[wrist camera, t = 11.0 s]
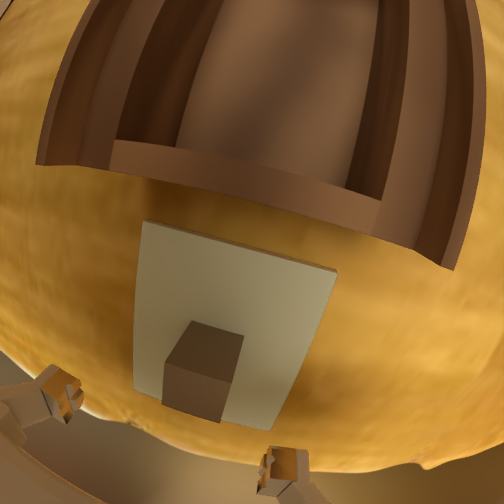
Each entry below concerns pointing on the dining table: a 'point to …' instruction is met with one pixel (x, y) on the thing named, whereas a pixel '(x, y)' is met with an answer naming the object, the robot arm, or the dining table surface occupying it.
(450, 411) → the dining table surface
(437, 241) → the box
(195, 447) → the dining table surface
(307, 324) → the cover plate
